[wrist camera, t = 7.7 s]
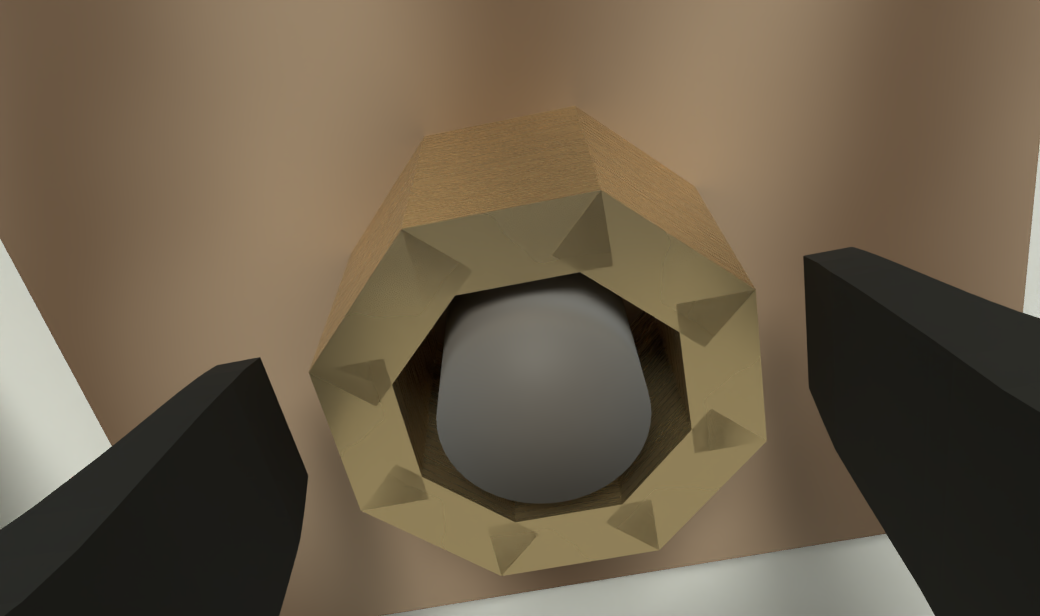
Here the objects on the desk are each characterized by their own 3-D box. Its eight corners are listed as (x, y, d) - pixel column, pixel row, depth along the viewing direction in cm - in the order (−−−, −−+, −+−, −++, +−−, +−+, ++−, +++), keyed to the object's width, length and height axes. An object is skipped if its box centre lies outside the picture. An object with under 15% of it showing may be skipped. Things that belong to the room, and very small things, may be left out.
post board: (1042, -361, 11) (1417, -504, 6) (977, 481, 17) (1139, 695, 13) (-124, -89, 12) (-485, -53, 8) (230, 604, 19) (148, 839, 14)
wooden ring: (683, 83, 12) (745, 160, 9) (716, 390, 15) (773, 530, 12) (319, 157, 13) (264, 255, 10) (413, 444, 15) (392, 594, 12)
